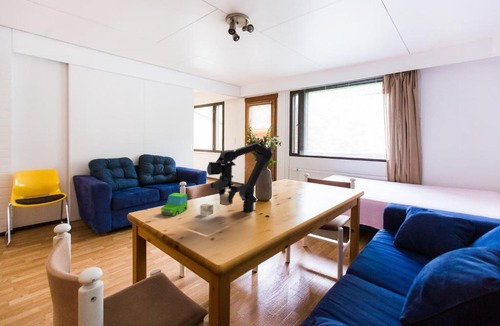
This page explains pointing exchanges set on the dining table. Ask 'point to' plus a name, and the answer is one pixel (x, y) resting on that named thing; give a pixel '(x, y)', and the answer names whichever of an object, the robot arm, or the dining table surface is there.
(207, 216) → the board
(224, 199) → the walnut block
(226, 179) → the robot arm
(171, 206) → the toy car
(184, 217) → the dining table surface
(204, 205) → the beech block
